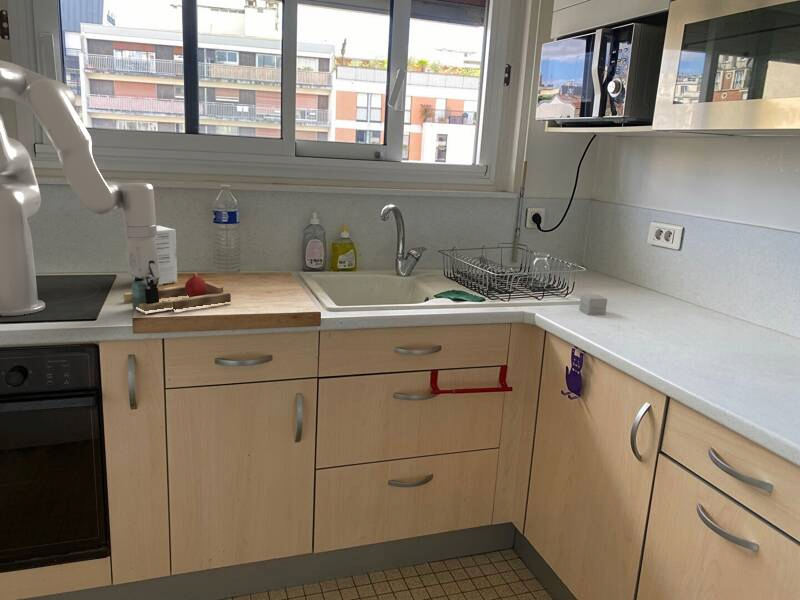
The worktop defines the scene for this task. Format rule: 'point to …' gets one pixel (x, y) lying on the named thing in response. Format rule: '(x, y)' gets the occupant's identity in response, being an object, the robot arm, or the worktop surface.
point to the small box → (593, 304)
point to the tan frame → (140, 301)
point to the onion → (195, 286)
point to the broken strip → (129, 295)
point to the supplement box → (166, 254)
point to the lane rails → (192, 301)
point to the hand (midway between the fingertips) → (146, 299)
